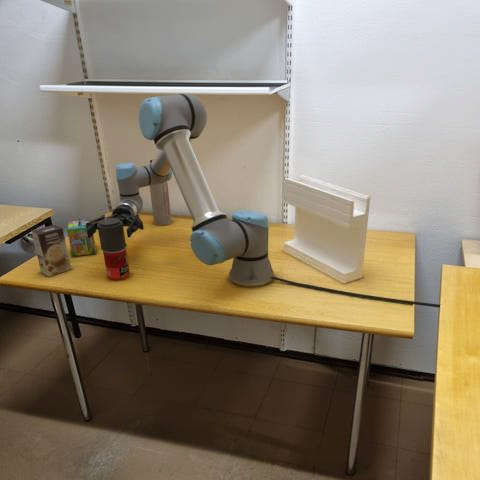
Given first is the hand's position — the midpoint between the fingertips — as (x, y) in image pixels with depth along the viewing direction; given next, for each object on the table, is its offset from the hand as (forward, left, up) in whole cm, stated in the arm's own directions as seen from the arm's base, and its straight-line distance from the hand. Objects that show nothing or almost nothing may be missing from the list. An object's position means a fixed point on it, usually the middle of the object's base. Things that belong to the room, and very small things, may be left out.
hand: (108, 233), depth 159 cm
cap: (+2, -2, -6) cm, 7 cm away
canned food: (+2, -2, -17) cm, 18 cm away
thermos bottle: (+39, -46, -17) cm, 63 cm away
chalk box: (+33, -4, -17) cm, 38 cm away
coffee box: (+23, +12, -17) cm, 31 cm away
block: (-42, -60, -17) cm, 75 cm away
